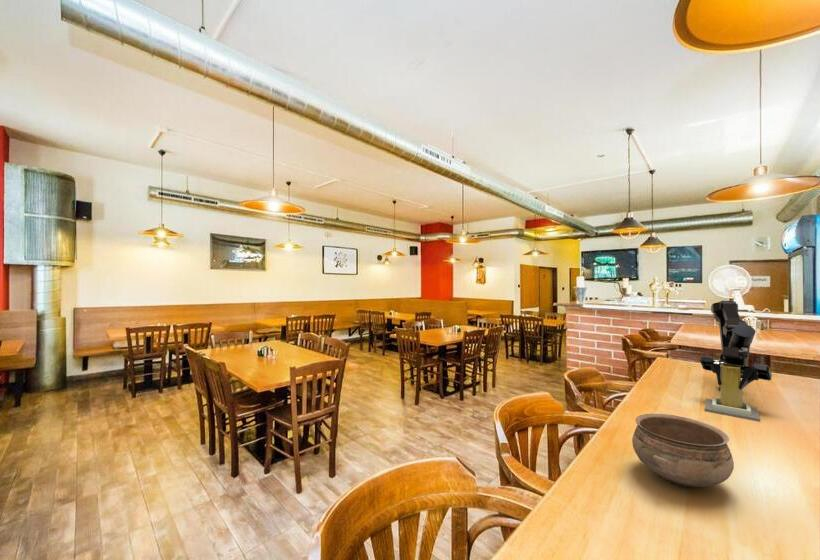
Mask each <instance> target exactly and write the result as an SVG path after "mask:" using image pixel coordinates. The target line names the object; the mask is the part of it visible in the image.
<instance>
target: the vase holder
mask: <svg viewBox="0 0 820 560" xmlns="http://www.w3.org/2000/svg"><path fill="white" fill-rule="evenodd" d="M742 404H743V407H742V408H734V407H728V406H724V405H722V404H721V403H720V398H719V397H713V396H712V399H710V398H705V404H704V412H708V413H714V414H719V415H723V416H724V415H725V416H729V417H734V418H740V419H745V420H751V421H756V422H761V418H760V414H759V410H758V407H757V406H751V405H750V403H748V402H743V401H742Z"/></svg>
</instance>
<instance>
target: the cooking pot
mask: <svg viewBox="0 0 820 560" xmlns="http://www.w3.org/2000/svg"><path fill="white" fill-rule="evenodd" d="M635 423H636V427H635V429H634V432H633V435H632V437H631V438H632V439H631V443H632V447H633V451H634V453H635V454H636V456H637V458H638V459H639V460H640V462H641V463H642V464H643V465H645V466H646V467H647V468H648V470H649V469H650V471H652V472H654V473H655V474H657V475H658V476H659V477H662V478H663V479H665V480H666V481H667V482H669V483H671V484H673V485H676V486H679V487H683V488H690V487H691V488H699V487H700V488H703V487H713V486H717V485H719V484H722V483H724V482H725V481H727V480H728V479H729V478H730V476H732V473H733V471H734V469H735V468H734V467H735V462H734V457H733V456H732V452H731V449H730V448H729V445H728V443H729V441H730V437H729V436H728V435H727V433H726V432H724V431H723V430H721V429H719V428H718V427H716V426H713V425H711V424H709V423H706V422H704V421H699V420H696V419H693V418H689V417H685V416H679V415H674V414H666V413H646V414H645V413H644V414H640V415H638V416H637V417H636V418H635Z"/></svg>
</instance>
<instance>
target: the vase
mask: <svg viewBox="0 0 820 560" xmlns="http://www.w3.org/2000/svg"><path fill="white" fill-rule="evenodd" d="M741 381H742V378H741V367H740V366H738V365H733V364H721V391H720V393H719V394H720V395H719V397H720V403H721V404H722V405H724V406H728V407H734V408H742V407H743V404H742V402H743V393H742V390H743V389H742V390H740V383H741Z"/></svg>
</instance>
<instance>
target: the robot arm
mask: <svg viewBox="0 0 820 560" xmlns="http://www.w3.org/2000/svg"><path fill="white" fill-rule="evenodd" d="M710 311H711V312H710V313H712V315H713V319H714V320H715V321H716V322H718V326H719V336H720V337H719V338H720V346H721V354H720V355H719V357H718V359H717V360H716V357H712V356H707V355H703V356H701V357H700V360H699V362H700V365H701V367H702V370H704V371H709V372H712V373H714V374H716V379H717V384H718V390H719V391H720V392H721V364H733V365H738V366H740V367H741V383H740V390H743V389H744V388H745V387H747V386H748V385H749V384H751V383H752V382H754V381H759V380H765V381H772V377H773V376H772V375H773V374H772V371H771V370H772V369H771V367H770V365H768V364H761V363H753V366H749V365H748V366H747V363H748V362H749V361H748V360H749V358H750V348H751V345H752V343H753V342H754V341H753V340H754V337H755V336H756V330H755V328H754V327H753V326H751V325H748V323H747V322H746V321H745V320H743V319H741V317H740V315H739V304H738V303H737V302H736V301H734V300H720V301H718V302H714V303H712V304H711V307H710Z"/></svg>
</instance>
